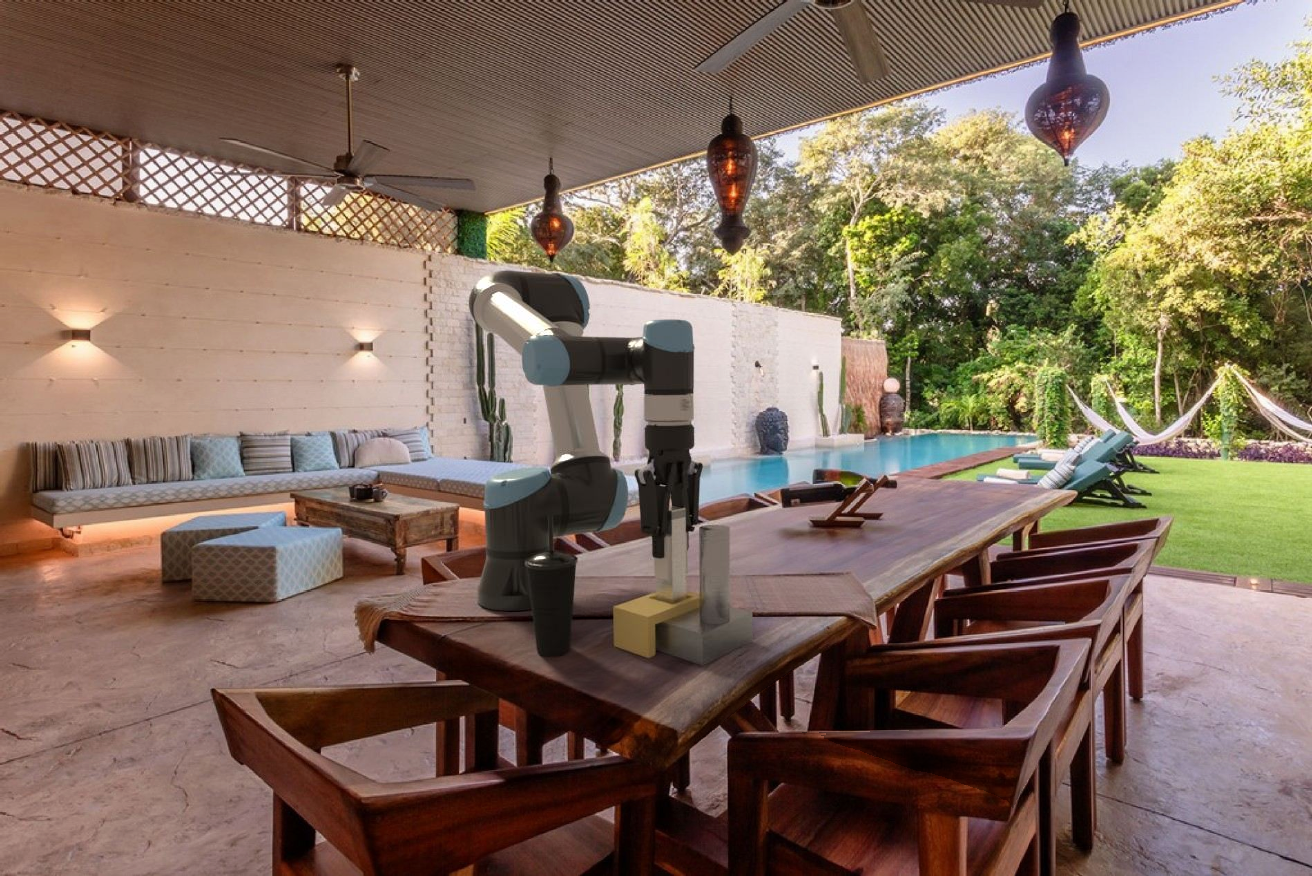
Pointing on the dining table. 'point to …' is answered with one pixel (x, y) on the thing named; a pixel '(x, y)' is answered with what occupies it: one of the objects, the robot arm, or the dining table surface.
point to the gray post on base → (708, 608)
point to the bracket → (646, 621)
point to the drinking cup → (552, 597)
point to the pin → (675, 559)
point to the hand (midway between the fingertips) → (671, 575)
